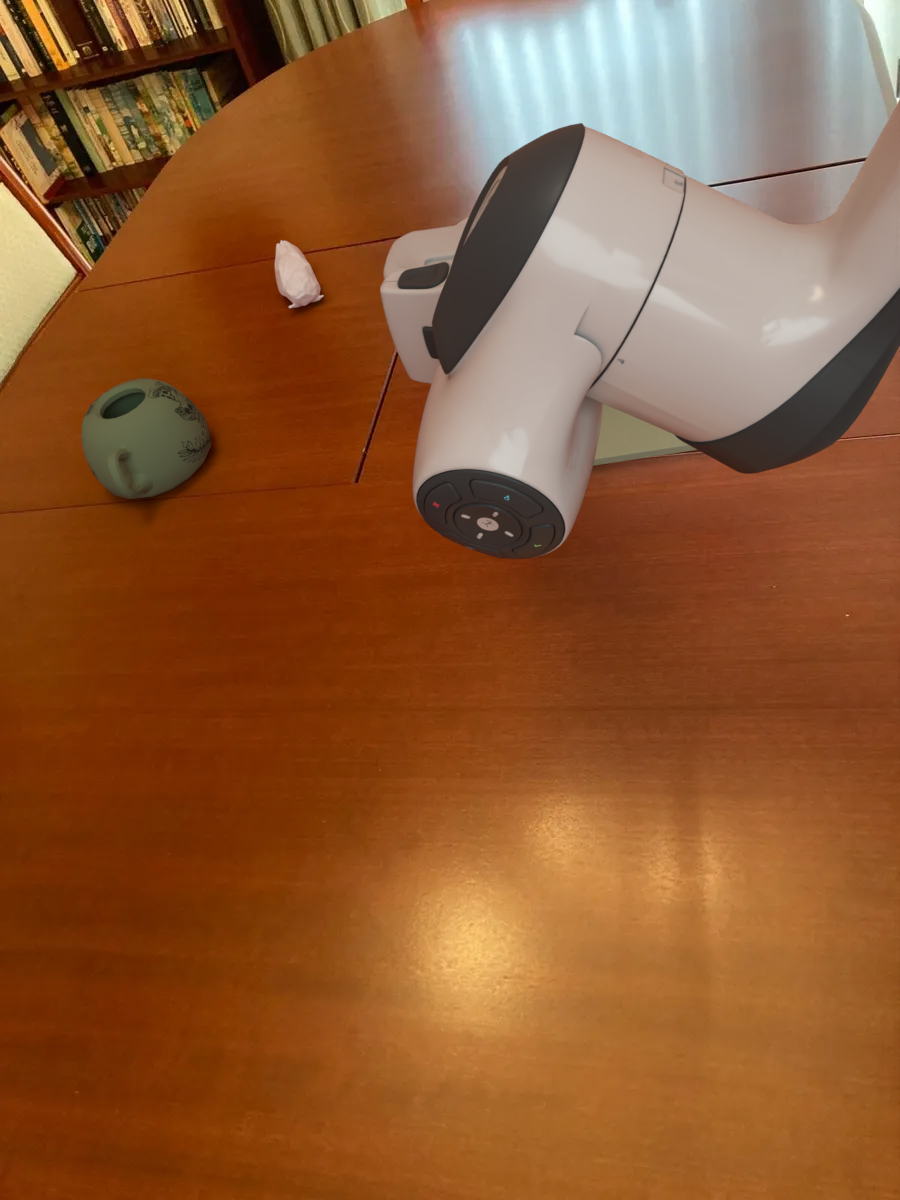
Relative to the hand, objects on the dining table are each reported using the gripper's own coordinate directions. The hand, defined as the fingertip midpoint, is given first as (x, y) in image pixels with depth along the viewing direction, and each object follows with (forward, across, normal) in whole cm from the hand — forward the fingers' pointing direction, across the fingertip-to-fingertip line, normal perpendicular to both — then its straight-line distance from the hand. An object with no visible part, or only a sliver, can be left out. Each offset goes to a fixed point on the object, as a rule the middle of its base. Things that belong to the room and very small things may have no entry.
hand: (564, 199), depth 58 cm
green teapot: (+4, +47, +25) cm, 54 cm away
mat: (+12, 0, +25) cm, 28 cm away
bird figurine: (+37, +41, +25) cm, 61 cm away
